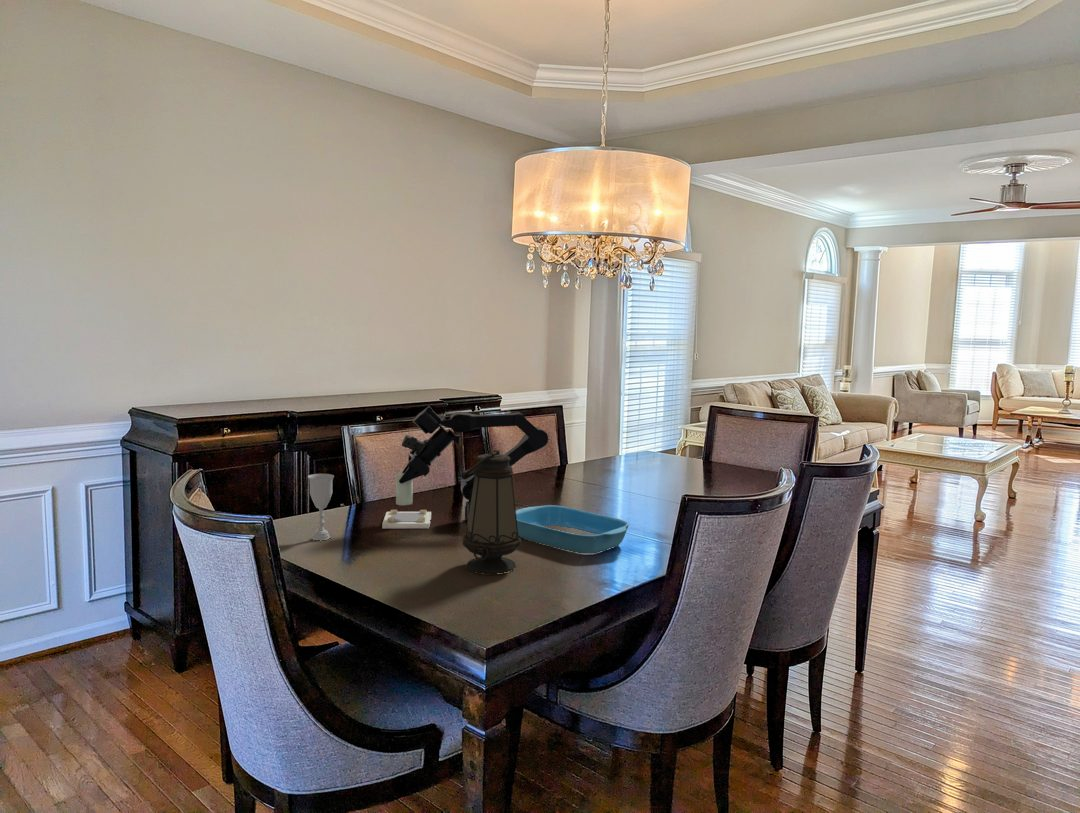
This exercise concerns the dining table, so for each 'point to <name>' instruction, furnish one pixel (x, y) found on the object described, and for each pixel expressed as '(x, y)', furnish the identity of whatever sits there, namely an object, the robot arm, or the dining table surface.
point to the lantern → (491, 515)
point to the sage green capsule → (404, 491)
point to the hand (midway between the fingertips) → (399, 480)
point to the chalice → (321, 499)
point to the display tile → (407, 519)
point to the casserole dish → (537, 518)
